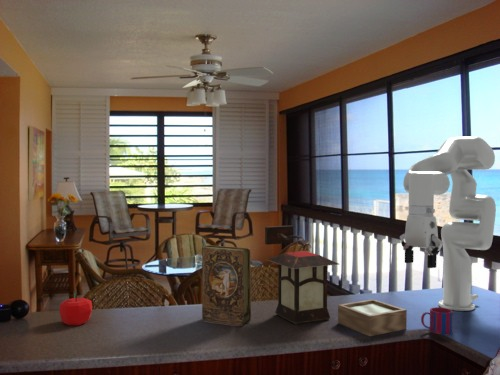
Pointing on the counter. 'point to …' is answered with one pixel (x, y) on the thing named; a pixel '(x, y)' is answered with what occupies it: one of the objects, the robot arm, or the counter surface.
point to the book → (226, 285)
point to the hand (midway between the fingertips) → (420, 265)
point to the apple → (75, 311)
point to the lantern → (299, 280)
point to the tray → (372, 317)
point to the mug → (439, 320)
